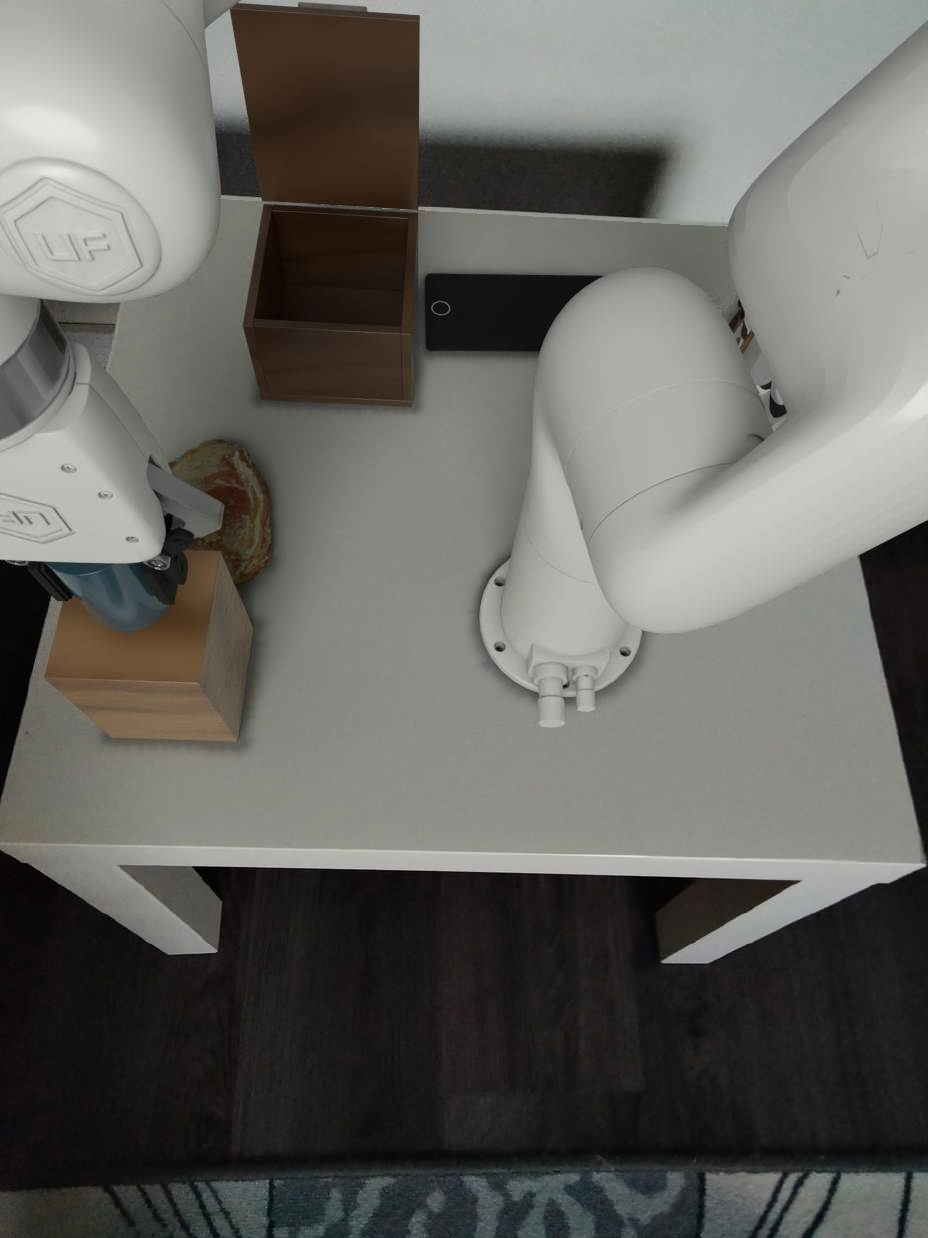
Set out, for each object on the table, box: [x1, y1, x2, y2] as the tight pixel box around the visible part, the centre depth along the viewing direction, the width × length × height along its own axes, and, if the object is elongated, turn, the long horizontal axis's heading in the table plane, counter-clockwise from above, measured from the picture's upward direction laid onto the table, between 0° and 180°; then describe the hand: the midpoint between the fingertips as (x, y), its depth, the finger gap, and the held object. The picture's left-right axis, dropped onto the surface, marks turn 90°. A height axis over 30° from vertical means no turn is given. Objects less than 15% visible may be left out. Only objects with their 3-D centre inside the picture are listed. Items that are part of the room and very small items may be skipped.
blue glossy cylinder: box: [44, 561, 170, 632], centre depth 46 cm, size 5×5×7 cm
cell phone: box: [424, 272, 604, 353], centre depth 78 cm, size 9×18×1 cm, turn 92°
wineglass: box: [722, 295, 787, 427], centre depth 63 cm, size 8×8×20 cm
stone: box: [168, 438, 274, 586], centre depth 66 cm, size 13×10×3 cm
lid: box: [229, 1, 421, 211], centre depth 65 cm, size 14×13×5 cm
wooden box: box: [242, 203, 420, 408], centre depth 72 cm, size 14×13×9 cm
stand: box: [44, 550, 254, 743], centre depth 57 cm, size 9×9×12 cm
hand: (120, 578), depth 47 cm, fingers closed on blue glossy cylinder, 5 cm apart
